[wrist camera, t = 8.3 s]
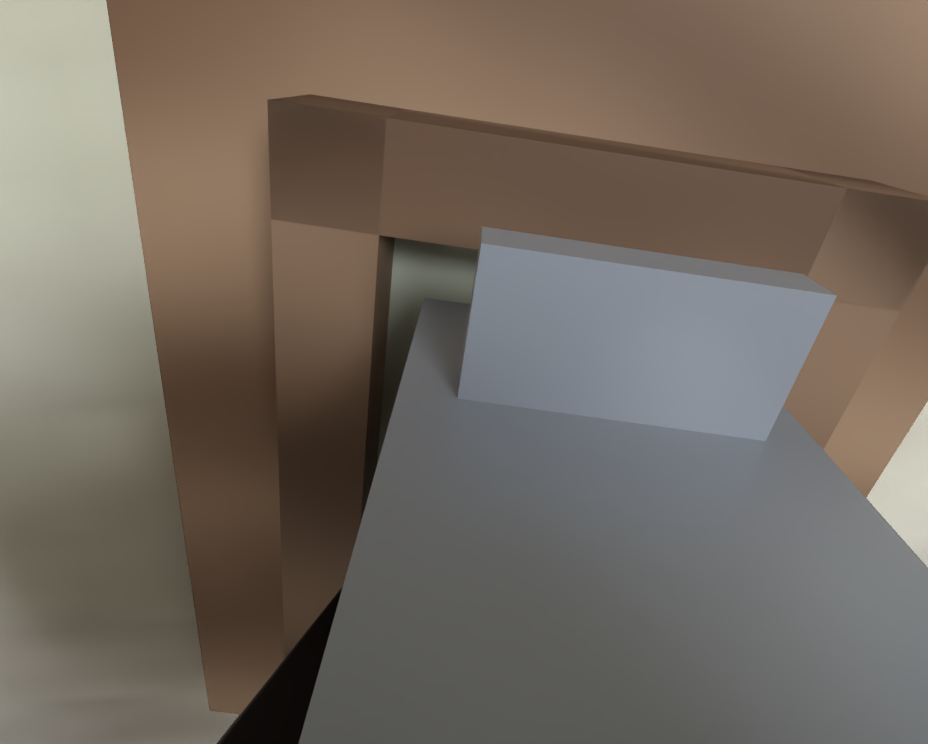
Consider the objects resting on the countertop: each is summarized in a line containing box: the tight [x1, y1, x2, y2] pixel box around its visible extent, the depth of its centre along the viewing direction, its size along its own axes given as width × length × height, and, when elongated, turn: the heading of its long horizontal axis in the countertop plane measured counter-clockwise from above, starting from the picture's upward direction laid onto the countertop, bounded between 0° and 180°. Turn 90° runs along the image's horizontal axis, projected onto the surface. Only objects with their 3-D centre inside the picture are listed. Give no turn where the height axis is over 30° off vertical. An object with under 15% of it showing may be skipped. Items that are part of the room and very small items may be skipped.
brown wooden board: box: [106, 0, 928, 714], centre depth 11 cm, size 22×15×3 cm
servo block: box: [299, 226, 928, 744], centre depth 7 cm, size 11×4×7 cm, turn 172°
